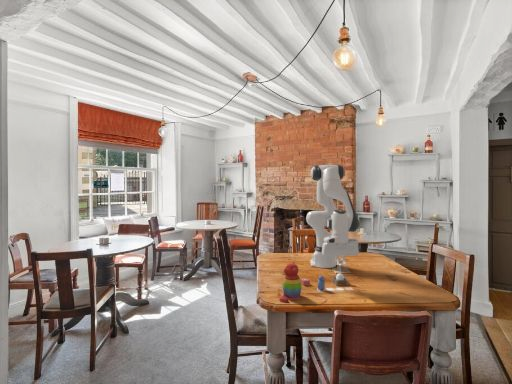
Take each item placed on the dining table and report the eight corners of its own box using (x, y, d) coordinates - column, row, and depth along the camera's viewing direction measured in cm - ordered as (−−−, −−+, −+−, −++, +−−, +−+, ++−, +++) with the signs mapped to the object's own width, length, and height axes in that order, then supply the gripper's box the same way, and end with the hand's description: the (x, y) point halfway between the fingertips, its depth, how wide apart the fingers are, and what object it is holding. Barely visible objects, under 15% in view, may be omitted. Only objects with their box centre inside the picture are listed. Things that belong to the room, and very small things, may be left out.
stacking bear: (284, 294, 154) (284, 260, 153) (303, 296, 150) (303, 261, 150) (278, 301, 144) (278, 265, 143) (298, 304, 140) (298, 267, 140)
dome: (334, 280, 168) (334, 272, 168) (342, 280, 168) (342, 272, 168) (337, 282, 164) (337, 274, 164) (345, 282, 164) (345, 274, 164)
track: (312, 289, 160) (312, 287, 160) (352, 288, 161) (352, 286, 161) (316, 295, 152) (316, 292, 152) (358, 293, 153) (358, 291, 153)
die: (300, 286, 166) (300, 278, 166) (306, 285, 167) (306, 278, 167) (303, 288, 162) (303, 280, 162) (310, 287, 163) (310, 280, 163)
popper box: (331, 283, 169) (331, 276, 169) (343, 283, 170) (343, 276, 170) (336, 288, 162) (336, 280, 162) (348, 287, 163) (348, 280, 163)
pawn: (316, 288, 158) (317, 274, 158) (323, 288, 158) (323, 274, 158) (318, 290, 154) (318, 276, 154) (325, 290, 154) (325, 276, 154)
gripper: (355, 237, 169) (356, 261, 169) (320, 238, 168) (321, 262, 168) (360, 239, 163) (360, 264, 163) (324, 240, 162) (324, 265, 162)
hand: (340, 263), depth 165 cm, fingers closed
